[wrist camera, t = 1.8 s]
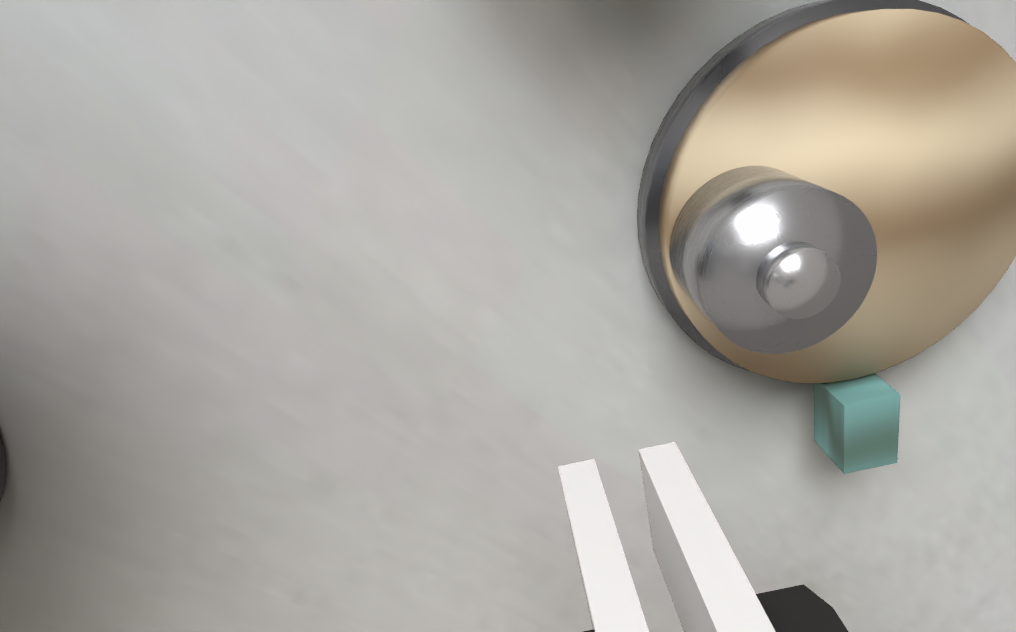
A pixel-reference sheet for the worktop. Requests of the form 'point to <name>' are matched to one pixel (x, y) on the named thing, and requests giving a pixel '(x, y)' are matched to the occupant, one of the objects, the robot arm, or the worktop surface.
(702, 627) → the robot arm
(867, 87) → the platter
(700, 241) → the cover
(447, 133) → the worktop surface
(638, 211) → the turntable base
